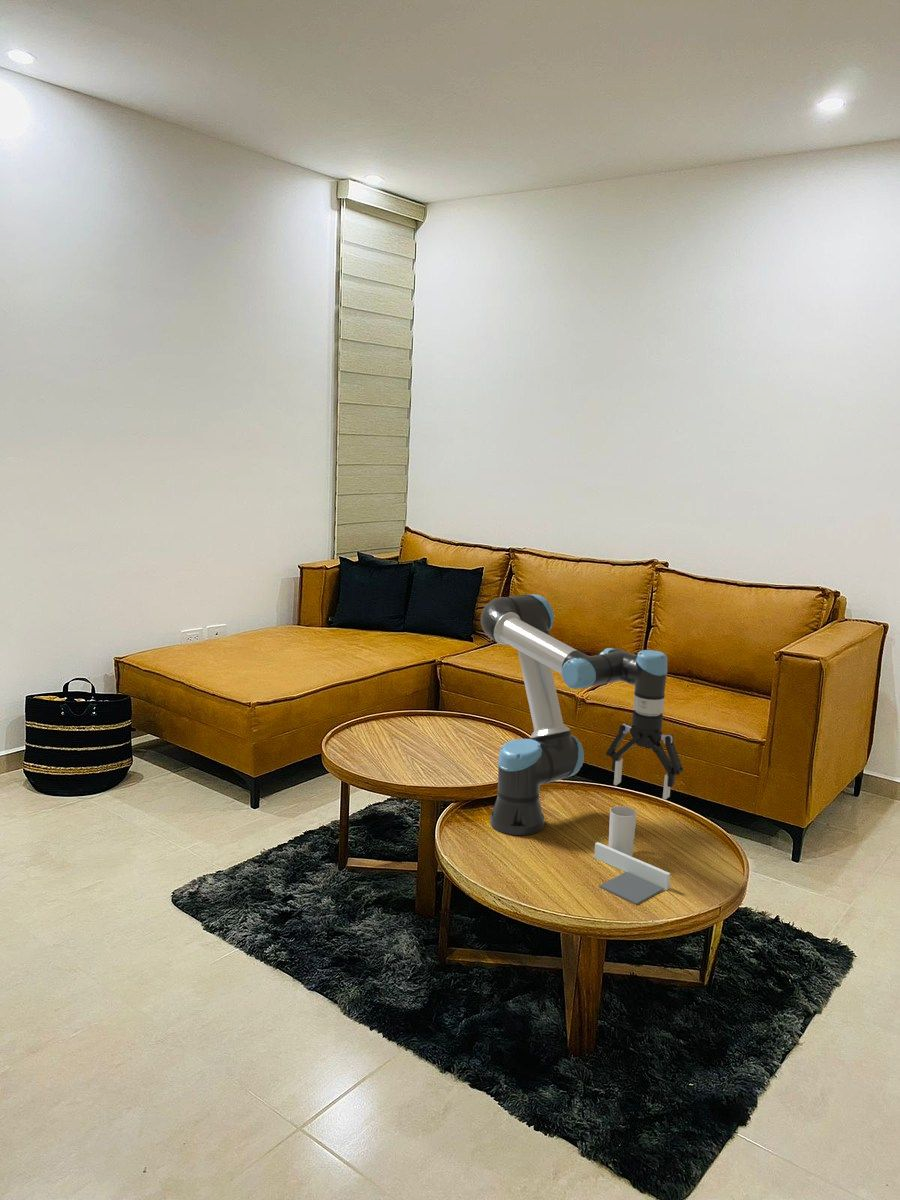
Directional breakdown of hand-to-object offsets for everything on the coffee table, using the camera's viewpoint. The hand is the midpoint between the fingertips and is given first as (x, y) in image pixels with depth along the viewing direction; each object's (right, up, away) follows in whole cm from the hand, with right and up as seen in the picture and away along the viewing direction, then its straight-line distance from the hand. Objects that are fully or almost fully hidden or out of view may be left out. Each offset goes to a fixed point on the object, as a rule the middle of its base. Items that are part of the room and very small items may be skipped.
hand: (641, 790), depth 230 cm
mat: (-5, -21, -14) cm, 26 cm away
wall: (-4, -19, -6) cm, 21 cm away
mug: (-4, -18, +5) cm, 19 cm away
